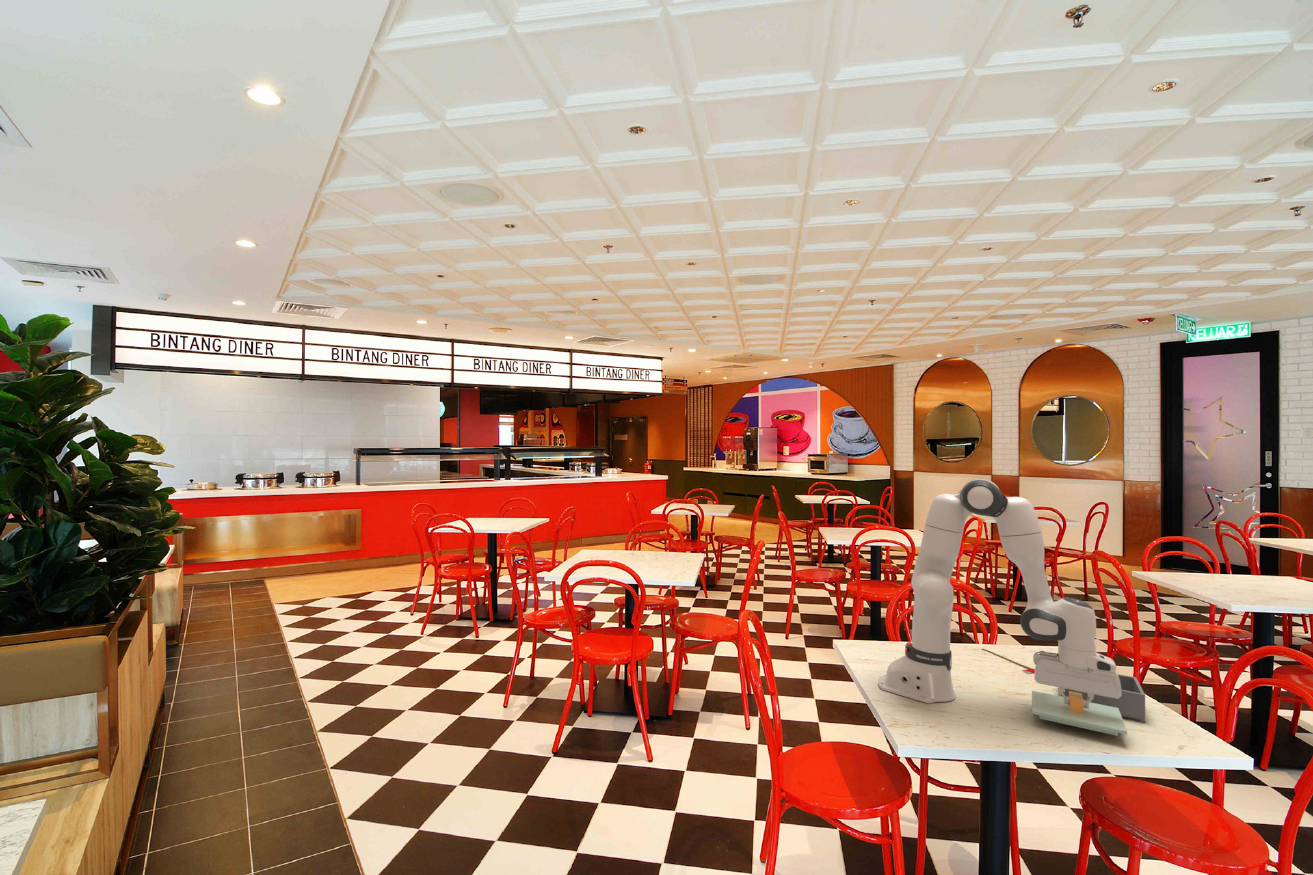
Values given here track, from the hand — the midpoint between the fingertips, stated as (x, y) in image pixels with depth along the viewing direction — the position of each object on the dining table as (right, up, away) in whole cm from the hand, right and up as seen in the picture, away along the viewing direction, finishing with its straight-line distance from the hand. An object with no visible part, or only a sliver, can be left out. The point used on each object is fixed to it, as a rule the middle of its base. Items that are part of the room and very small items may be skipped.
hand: (1076, 705), depth 168 cm
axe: (+13, -7, +51) cm, 53 cm away
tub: (+17, -6, +14) cm, 23 cm away
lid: (0, -3, 0) cm, 3 cm away
